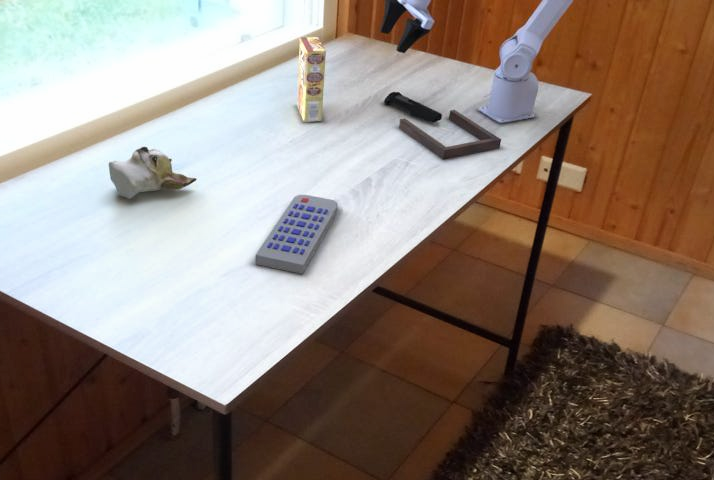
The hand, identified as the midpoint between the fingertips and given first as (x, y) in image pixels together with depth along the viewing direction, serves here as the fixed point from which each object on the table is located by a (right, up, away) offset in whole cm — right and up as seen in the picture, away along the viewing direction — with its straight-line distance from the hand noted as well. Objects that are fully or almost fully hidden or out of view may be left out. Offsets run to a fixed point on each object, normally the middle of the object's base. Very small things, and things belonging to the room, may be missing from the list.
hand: (392, 42), depth 175 cm
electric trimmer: (+5, -15, +4) cm, 16 cm away
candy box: (-18, -15, +3) cm, 23 cm away
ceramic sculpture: (-49, -36, -26) cm, 66 cm away
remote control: (-22, -46, -38) cm, 64 cm away
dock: (+10, -22, -5) cm, 25 cm away
